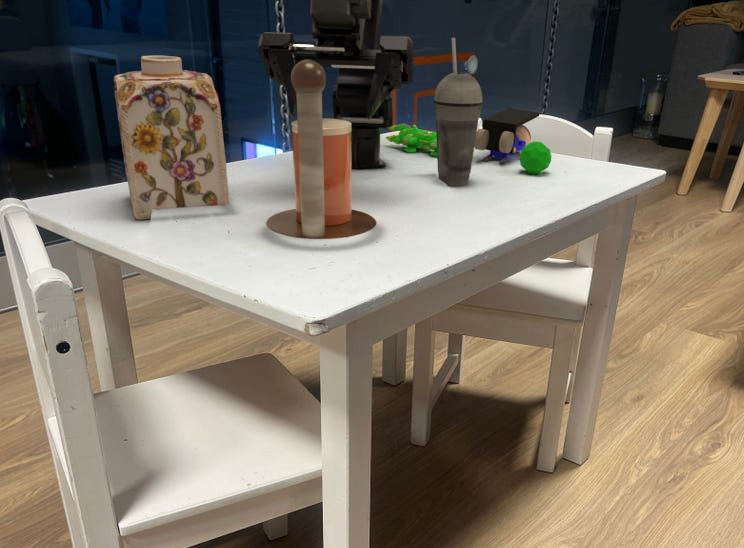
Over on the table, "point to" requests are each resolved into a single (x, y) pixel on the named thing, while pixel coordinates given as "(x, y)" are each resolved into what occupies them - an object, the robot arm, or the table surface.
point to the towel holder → (313, 166)
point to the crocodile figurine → (414, 138)
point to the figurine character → (504, 133)
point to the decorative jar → (171, 137)
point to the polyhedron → (535, 157)
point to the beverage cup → (456, 124)
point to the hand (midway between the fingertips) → (330, 115)
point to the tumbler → (330, 171)
